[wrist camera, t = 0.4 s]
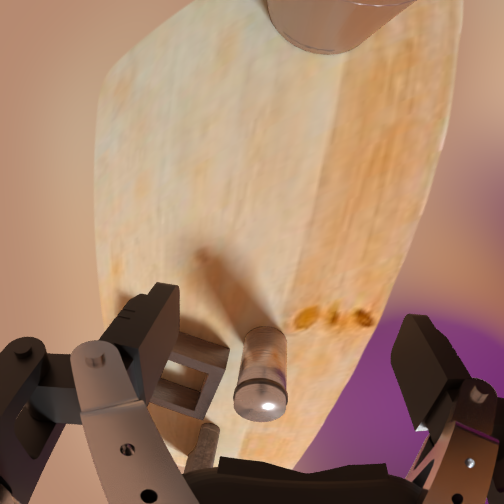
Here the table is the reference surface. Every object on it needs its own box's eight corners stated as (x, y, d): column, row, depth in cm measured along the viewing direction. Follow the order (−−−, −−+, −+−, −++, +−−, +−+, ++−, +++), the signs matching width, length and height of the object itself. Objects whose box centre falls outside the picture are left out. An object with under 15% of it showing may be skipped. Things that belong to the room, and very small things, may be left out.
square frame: (141, 317, 36) (130, 335, 33) (230, 349, 37) (225, 369, 34) (133, 374, 41) (124, 391, 38) (207, 401, 41) (202, 420, 38)
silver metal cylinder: (251, 319, 35) (241, 383, 26) (295, 333, 35) (296, 398, 27) (237, 351, 37) (225, 414, 28) (278, 363, 37) (275, 427, 29)
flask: (226, 427, 44) (207, 532, 28) (206, 463, 50) (188, 546, 34) (203, 421, 44) (178, 525, 27) (187, 457, 50) (165, 540, 33)
